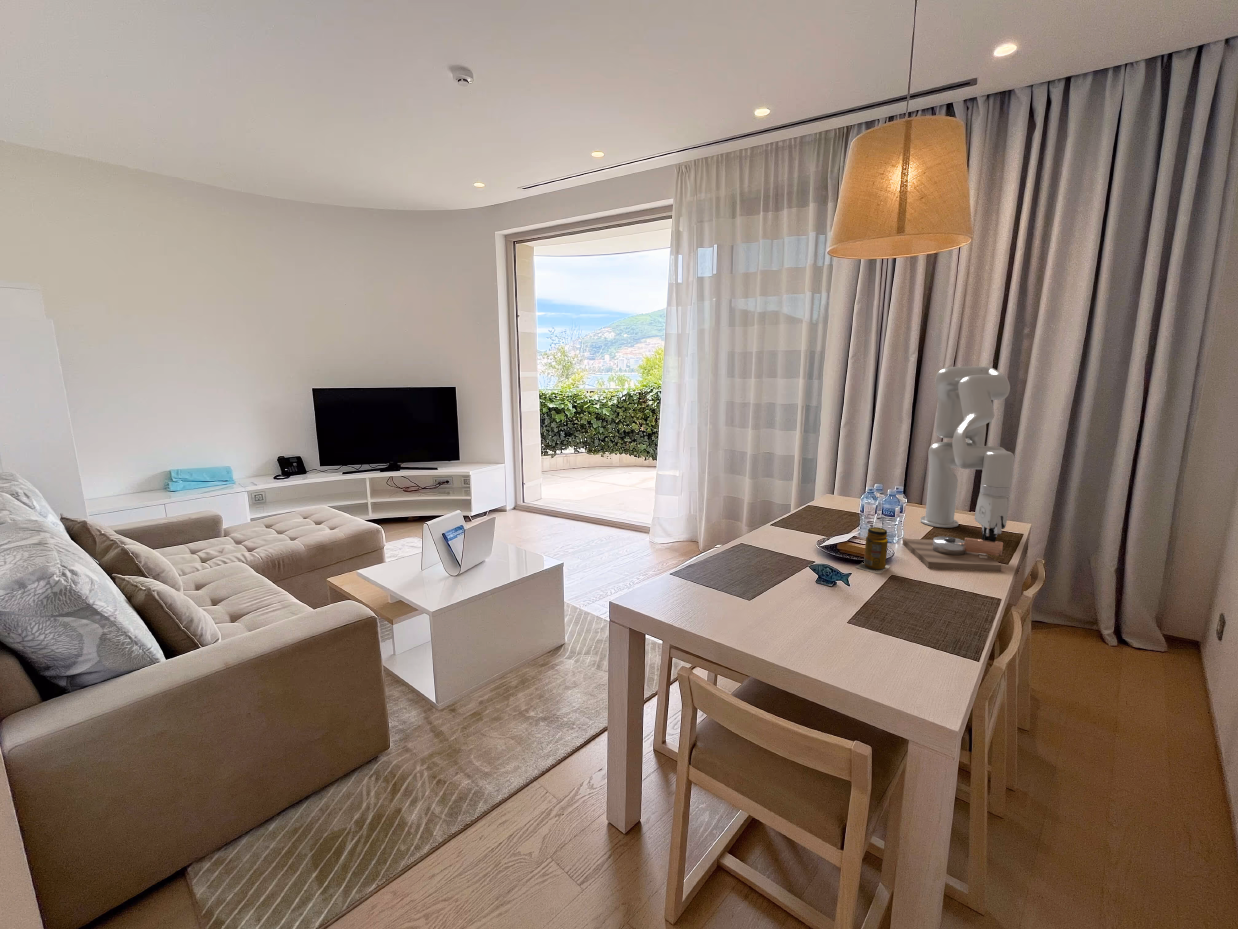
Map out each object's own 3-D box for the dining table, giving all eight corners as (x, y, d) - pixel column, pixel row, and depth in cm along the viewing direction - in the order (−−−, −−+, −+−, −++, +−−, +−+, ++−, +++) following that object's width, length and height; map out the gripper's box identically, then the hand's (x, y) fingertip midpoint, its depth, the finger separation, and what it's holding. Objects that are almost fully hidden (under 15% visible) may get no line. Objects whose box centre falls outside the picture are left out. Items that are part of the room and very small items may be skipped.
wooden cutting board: (902, 544, 183) (903, 538, 182) (966, 546, 179) (967, 540, 179) (928, 568, 161) (928, 561, 161) (1001, 571, 158) (1002, 564, 158)
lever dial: (932, 552, 168) (934, 538, 167) (932, 543, 176) (933, 530, 175) (1003, 561, 159) (1005, 547, 159) (999, 552, 167) (1001, 538, 166)
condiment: (890, 566, 163) (893, 529, 161) (879, 574, 158) (882, 535, 155) (866, 560, 168) (869, 524, 166) (855, 568, 163) (857, 530, 160)
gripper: (970, 484, 171) (963, 538, 175) (993, 496, 157) (986, 555, 161) (995, 485, 170) (989, 539, 174) (1022, 497, 156) (1014, 556, 159)
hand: (987, 547), depth 167 cm, fingers closed
